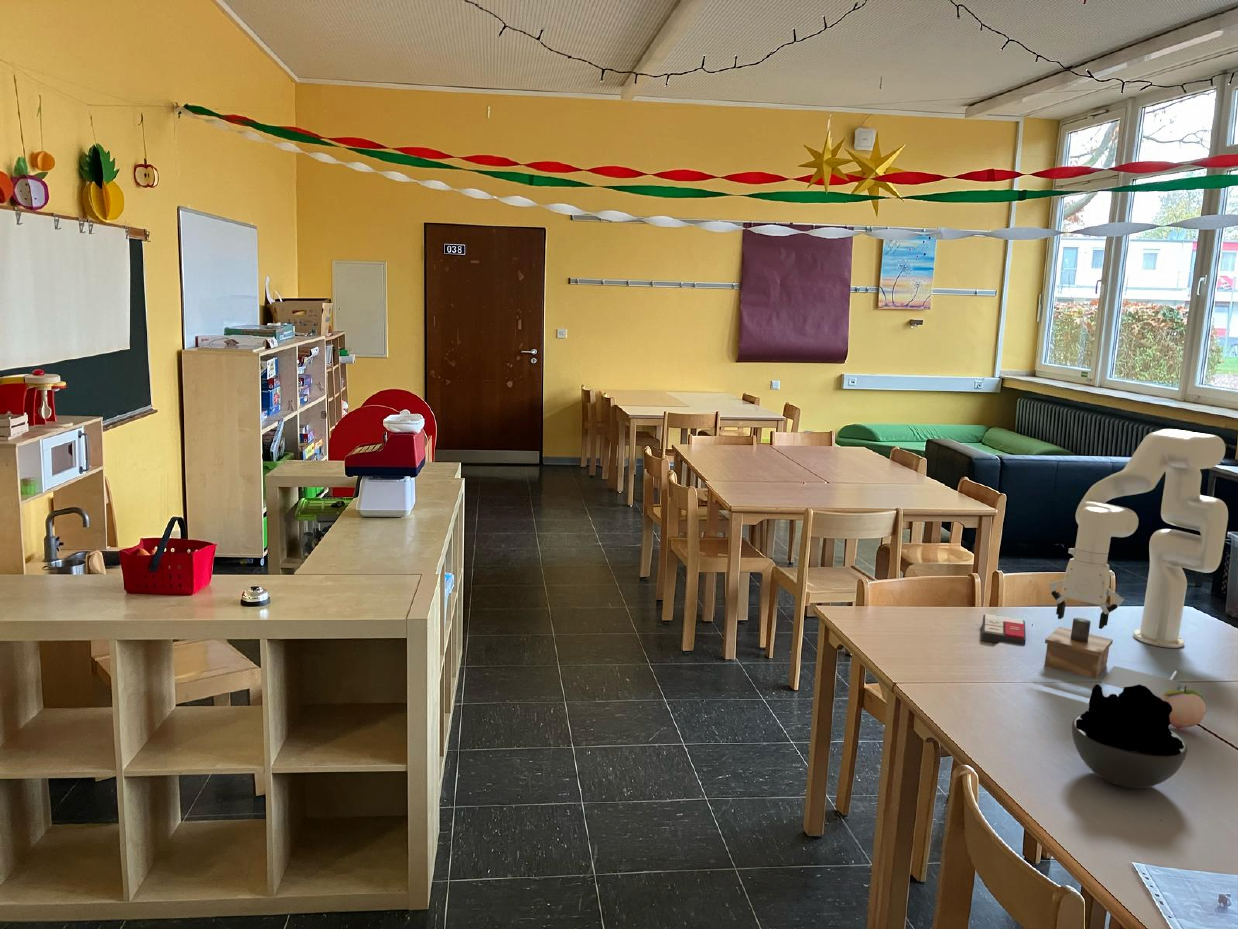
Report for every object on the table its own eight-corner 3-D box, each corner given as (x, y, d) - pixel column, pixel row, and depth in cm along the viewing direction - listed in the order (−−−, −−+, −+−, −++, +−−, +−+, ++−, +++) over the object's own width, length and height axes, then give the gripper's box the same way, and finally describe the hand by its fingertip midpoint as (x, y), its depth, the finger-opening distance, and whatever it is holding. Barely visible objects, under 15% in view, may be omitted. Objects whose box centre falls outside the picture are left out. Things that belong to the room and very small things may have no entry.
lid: (1057, 634, 261) (1061, 608, 260) (1111, 647, 254) (1115, 620, 252) (1044, 646, 251) (1047, 620, 250) (1099, 660, 243) (1103, 633, 242)
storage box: (1056, 657, 262) (1059, 631, 260) (1105, 669, 255) (1109, 643, 253) (1043, 669, 252) (1047, 643, 251) (1094, 682, 245) (1098, 655, 244)
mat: (1113, 669, 255) (1114, 665, 255) (1179, 686, 246) (1180, 682, 246) (1100, 686, 243) (1100, 682, 243) (1168, 704, 234) (1169, 700, 234)
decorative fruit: (1177, 739, 215) (1184, 695, 213) (1148, 723, 223) (1154, 680, 221) (1212, 736, 218) (1219, 693, 216) (1182, 720, 225) (1189, 678, 224)
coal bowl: (1191, 783, 195) (1206, 692, 192) (1164, 820, 180) (1180, 722, 177) (1084, 748, 208) (1096, 662, 205) (1051, 780, 193) (1063, 688, 190)
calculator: (982, 630, 270) (983, 611, 284) (980, 645, 271) (981, 625, 285) (1026, 637, 266) (1025, 617, 280) (1024, 652, 267) (1023, 632, 281)
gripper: (1050, 552, 250) (1040, 617, 253) (1125, 567, 240) (1114, 635, 243) (1058, 547, 256) (1048, 611, 259) (1131, 561, 246) (1121, 628, 249)
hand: (1080, 622), depth 251 cm, fingers open, 9 cm apart
